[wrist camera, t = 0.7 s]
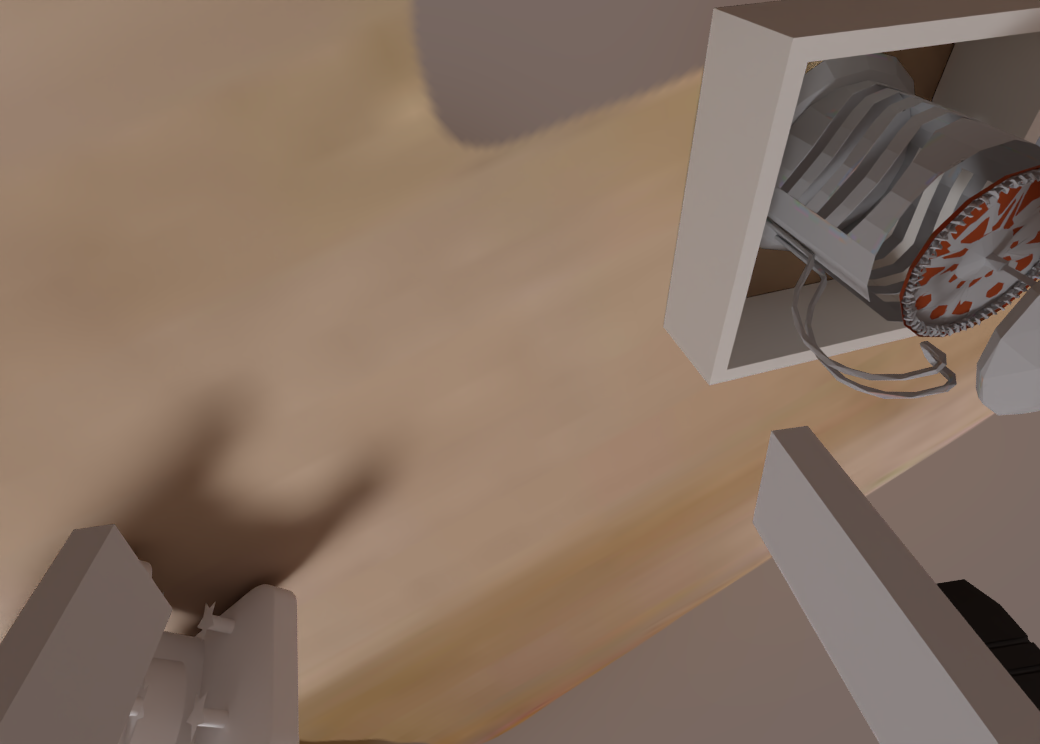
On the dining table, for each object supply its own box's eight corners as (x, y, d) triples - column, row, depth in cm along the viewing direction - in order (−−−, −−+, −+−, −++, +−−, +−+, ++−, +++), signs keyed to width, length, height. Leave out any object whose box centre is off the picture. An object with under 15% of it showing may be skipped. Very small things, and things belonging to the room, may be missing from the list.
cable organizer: (138, 520, 32) (84, 764, 23) (305, 571, 38) (310, 774, 30) (-13, 661, 35) (-106, 915, 27) (164, 684, 42) (133, 893, 34)
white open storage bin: (713, 8, 23) (793, 38, 19) (996, -24, 25) (1113, -2, 22) (663, 326, 33) (709, 385, 30) (868, 282, 36) (933, 331, 32)
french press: (936, 150, 31) (1857, 582, 13) (752, 304, 34) (1270, 816, 16) (884, -6, 25) (2525, 402, 7) (665, 201, 28) (1347, 842, 10)
